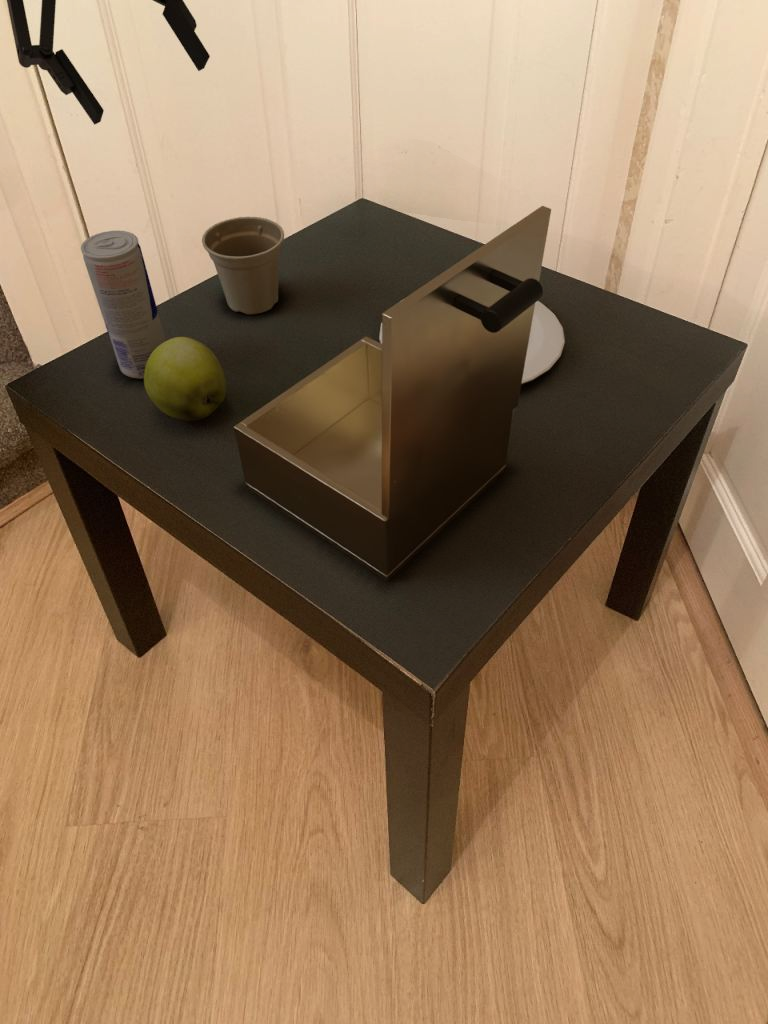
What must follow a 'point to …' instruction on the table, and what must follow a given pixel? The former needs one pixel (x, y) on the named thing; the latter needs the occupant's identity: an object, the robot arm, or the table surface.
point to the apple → (184, 379)
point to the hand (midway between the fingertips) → (153, 90)
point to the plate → (539, 343)
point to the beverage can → (124, 298)
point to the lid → (457, 357)
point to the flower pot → (246, 261)
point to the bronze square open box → (354, 464)
